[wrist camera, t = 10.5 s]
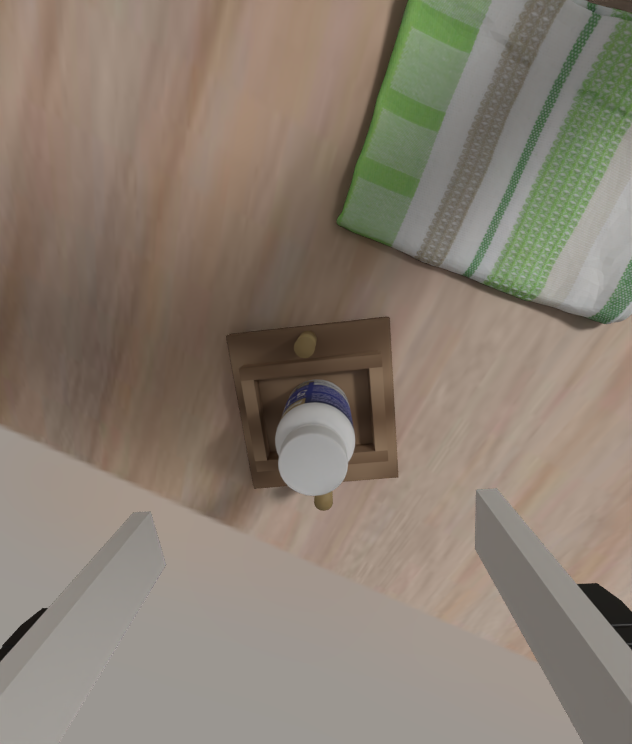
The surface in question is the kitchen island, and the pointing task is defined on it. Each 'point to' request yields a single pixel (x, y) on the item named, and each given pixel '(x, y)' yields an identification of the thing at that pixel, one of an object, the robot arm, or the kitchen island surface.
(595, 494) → the kitchen island surface
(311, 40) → the kitchen island surface
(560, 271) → the dish towel
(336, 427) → the pill bottle
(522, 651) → the kitchen island surface
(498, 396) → the kitchen island surface
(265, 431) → the cradle
